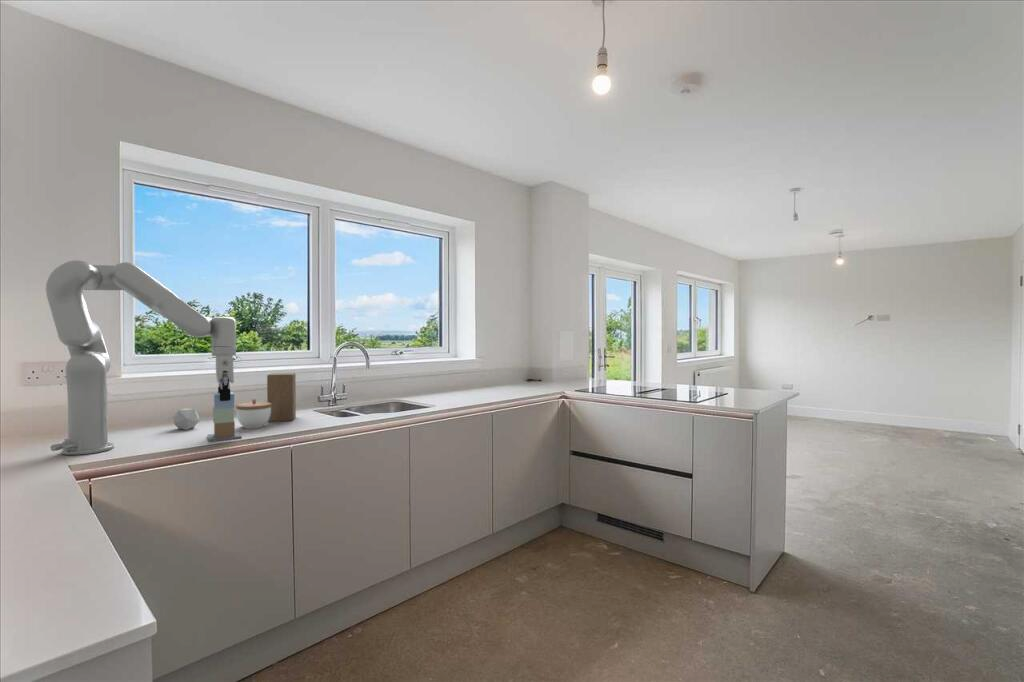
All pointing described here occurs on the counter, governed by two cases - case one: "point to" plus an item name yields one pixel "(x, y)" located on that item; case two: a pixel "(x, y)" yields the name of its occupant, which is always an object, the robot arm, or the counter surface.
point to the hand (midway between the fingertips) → (224, 399)
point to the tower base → (237, 436)
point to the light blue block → (223, 404)
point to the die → (186, 419)
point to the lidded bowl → (253, 414)
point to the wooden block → (281, 396)
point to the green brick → (223, 415)
